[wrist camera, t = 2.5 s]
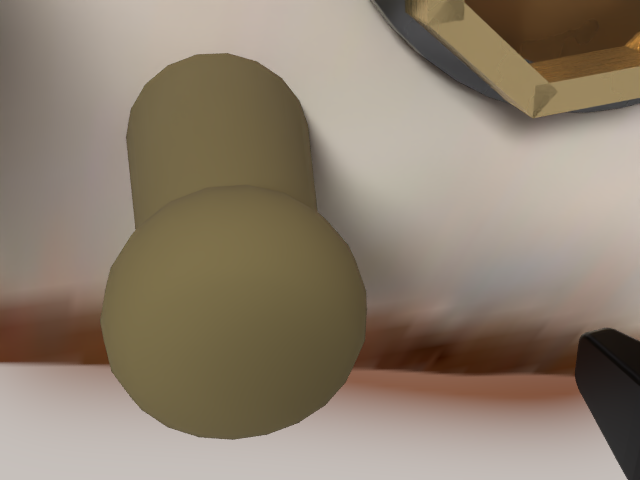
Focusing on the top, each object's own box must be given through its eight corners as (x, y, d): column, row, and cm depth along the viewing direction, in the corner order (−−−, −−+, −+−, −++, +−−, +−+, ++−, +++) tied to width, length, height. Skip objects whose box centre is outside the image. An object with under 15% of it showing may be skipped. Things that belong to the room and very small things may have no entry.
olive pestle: (296, 227, 22) (373, 478, 12) (126, 219, 20) (70, 496, 11) (321, 64, 19) (447, 234, 9) (125, 41, 17) (47, 214, 8)
